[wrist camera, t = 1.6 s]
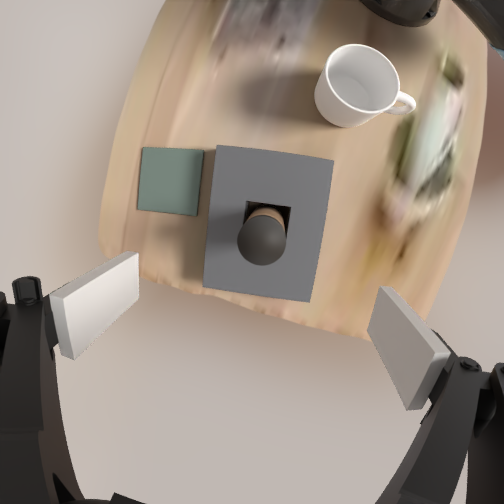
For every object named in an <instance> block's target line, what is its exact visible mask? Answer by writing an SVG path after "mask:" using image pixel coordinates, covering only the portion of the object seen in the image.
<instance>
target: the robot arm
mask: <svg viewBox="0 0 504 504" xmlns="http://www.w3.org/2000/svg"><path fill="white" fill-rule="evenodd" d="M361 1H362V2H363V3H364V4H365V5H366V6H367V7H368V8H369V9H371V10H372V11H373V12H375V13H376V14H378V15H380V16H381V17H383V18H385V19H387V20H389V21H392V22H394V23H397V24H400V25H404V26H410V27H419V26H423V25H426V24H427V23H429V22H430V21H431V20H432V19H433V18H434V17H435V16H436V14H437V12H438V8H439V4H440V0H361ZM452 1H453V2H454V3H455V4H456V5H457V6H458V7H459V8H460V9H461V10H462V11H463V13H464V14H465V15H466V16H467V17H468V18H469V19H470V20H471V21H472V22H473V24H474V25H475V26H476V27H477V28H478V29H479V31H480V32H481V33H482V34H483V35H484V37H485V38H486V39H487V40H488V41H489V44H490V46H491V47H492V48H493V49H495V50H496V51H497V53H498V54H499V55H500V56H501V58H502V59H503V60H504V0H452ZM138 255H139V253H138V252H131V251H125V252H123V253H122V254H120V255H118V256H116V257H114V258H112V259H110V260H109V261H107V262H105V263H103V264H101V265H100V266H98V267H96V268H94V269H92V270H91V271H89V272H87V273H85V274H83V275H82V276H80V277H78V278H76V279H75V280H73V281H71V282H69V283H67V284H65V285H63V286H62V287H60V288H58V289H57V290H55V291H53V292H52V293H50V294H48V295H47V296H45V297H43V295H42V289H41V281H40V279H39V278H37V277H33V276H27V277H21V278H18V279H16V280H14V281H13V283H12V287H13V293H14V298H15V304H8V303H7V302H6V297H5V293H3V292H0V504H145V503H141V502H139V501H136V500H133V499H130V498H127V497H125V496H122V495H119V494H117V493H114V494H113V496H112V499H111V500H110V501H108V500H99V499H85V498H84V496H83V494H82V493H81V491H80V489H79V486H78V483H77V480H76V477H75V473H74V470H73V467H72V462H71V458H70V454H69V450H68V446H67V441H66V436H65V431H64V426H63V421H62V415H61V408H60V401H59V395H58V385H57V376H56V363H55V353H54V350H53V347H54V346H55V345H56V344H58V343H59V347H60V351H61V355H63V356H66V357H68V358H70V359H73V360H76V359H77V358H78V357H79V356H80V354H82V353H83V352H84V351H85V350H86V349H87V348H88V347H89V346H90V345H91V344H92V343H93V342H94V341H95V340H96V339H97V338H98V337H99V336H100V335H101V334H102V333H103V332H104V331H105V330H106V329H107V328H108V327H109V326H110V325H111V324H113V322H115V320H117V319H118V318H119V317H120V316H121V315H122V314H123V313H124V312H125V311H126V310H127V309H128V308H129V307H131V306H132V305H133V304H134V303H135V302H136V301H137V300H138V299H139V271H138ZM367 332H368V334H369V336H370V337H371V339H372V341H373V343H374V345H375V347H376V349H377V351H378V353H379V355H380V357H381V359H382V361H383V363H384V365H385V367H386V369H387V371H388V373H389V375H390V377H391V379H392V381H393V383H394V385H395V387H396V389H397V391H398V393H399V396H400V398H401V400H402V402H403V404H404V406H405V408H406V410H418V409H422V408H423V406H424V405H425V403H426V401H427V399H428V397H429V399H430V401H431V403H432V405H431V406H430V408H429V410H428V411H427V413H426V415H425V416H424V418H423V420H422V421H421V423H420V424H421V427H420V429H419V431H418V433H417V435H416V437H415V439H414V441H413V443H412V445H411V447H410V449H409V450H408V452H407V454H406V456H405V457H404V459H403V461H402V463H401V464H400V466H399V468H398V469H397V471H396V473H395V474H394V476H393V478H392V479H391V481H390V482H389V484H388V485H387V487H386V488H385V490H384V491H383V493H382V494H381V496H380V497H379V499H378V500H377V502H376V503H375V504H450V502H451V499H452V497H453V494H454V491H455V489H456V486H457V483H458V480H459V477H460V474H461V471H462V468H463V465H464V461H465V458H466V454H467V451H468V477H467V494H466V504H504V363H497V364H496V365H495V367H494V368H493V371H492V372H491V373H489V372H482V369H481V366H480V365H479V364H478V363H477V362H476V361H474V360H472V359H471V358H468V357H458V356H457V355H456V354H455V353H454V351H453V350H452V349H451V348H450V347H449V346H448V345H447V344H446V342H445V341H443V339H442V338H441V336H440V335H439V334H438V333H436V332H435V331H433V330H432V329H430V328H429V327H428V326H427V324H426V323H425V322H424V321H423V320H422V319H421V318H420V316H419V315H418V314H417V313H416V312H415V311H414V310H413V309H412V308H411V307H410V306H409V305H408V303H407V302H406V301H405V300H404V299H403V298H402V297H401V296H400V295H399V294H398V293H397V292H396V291H395V290H394V289H393V288H392V287H387V286H380V287H379V291H378V294H377V298H376V302H375V305H374V309H373V312H372V316H371V319H370V322H369V326H368V329H367Z"/></svg>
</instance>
